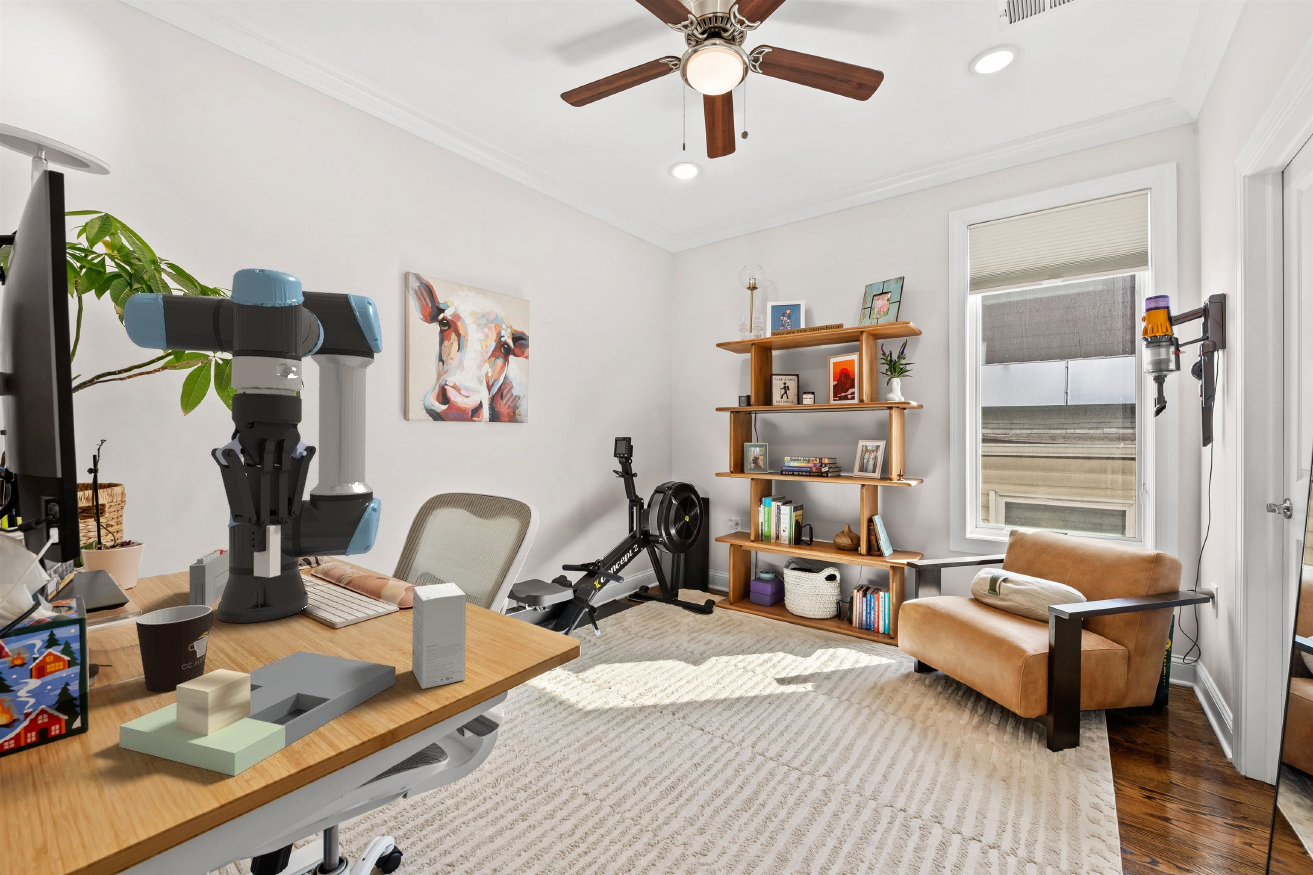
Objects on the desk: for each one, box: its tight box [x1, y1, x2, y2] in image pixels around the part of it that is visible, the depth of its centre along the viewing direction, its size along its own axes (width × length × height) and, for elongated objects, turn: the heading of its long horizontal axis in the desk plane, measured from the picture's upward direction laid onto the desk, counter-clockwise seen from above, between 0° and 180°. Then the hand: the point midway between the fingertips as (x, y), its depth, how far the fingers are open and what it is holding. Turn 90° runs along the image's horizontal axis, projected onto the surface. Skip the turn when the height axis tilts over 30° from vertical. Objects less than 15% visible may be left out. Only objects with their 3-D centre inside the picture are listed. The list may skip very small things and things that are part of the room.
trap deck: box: [119, 650, 397, 777], centre depth 77 cm, size 24×18×2 cm
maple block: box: [175, 668, 251, 736], centre depth 69 cm, size 5×5×5 cm
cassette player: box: [189, 548, 229, 607], centre depth 125 cm, size 16×3×10 cm, turn 17°
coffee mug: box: [135, 604, 214, 694], centre depth 86 cm, size 12×9×10 cm
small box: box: [411, 582, 467, 690], centre depth 89 cm, size 8×6×13 cm
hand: (267, 575), depth 76 cm, fingers closed
